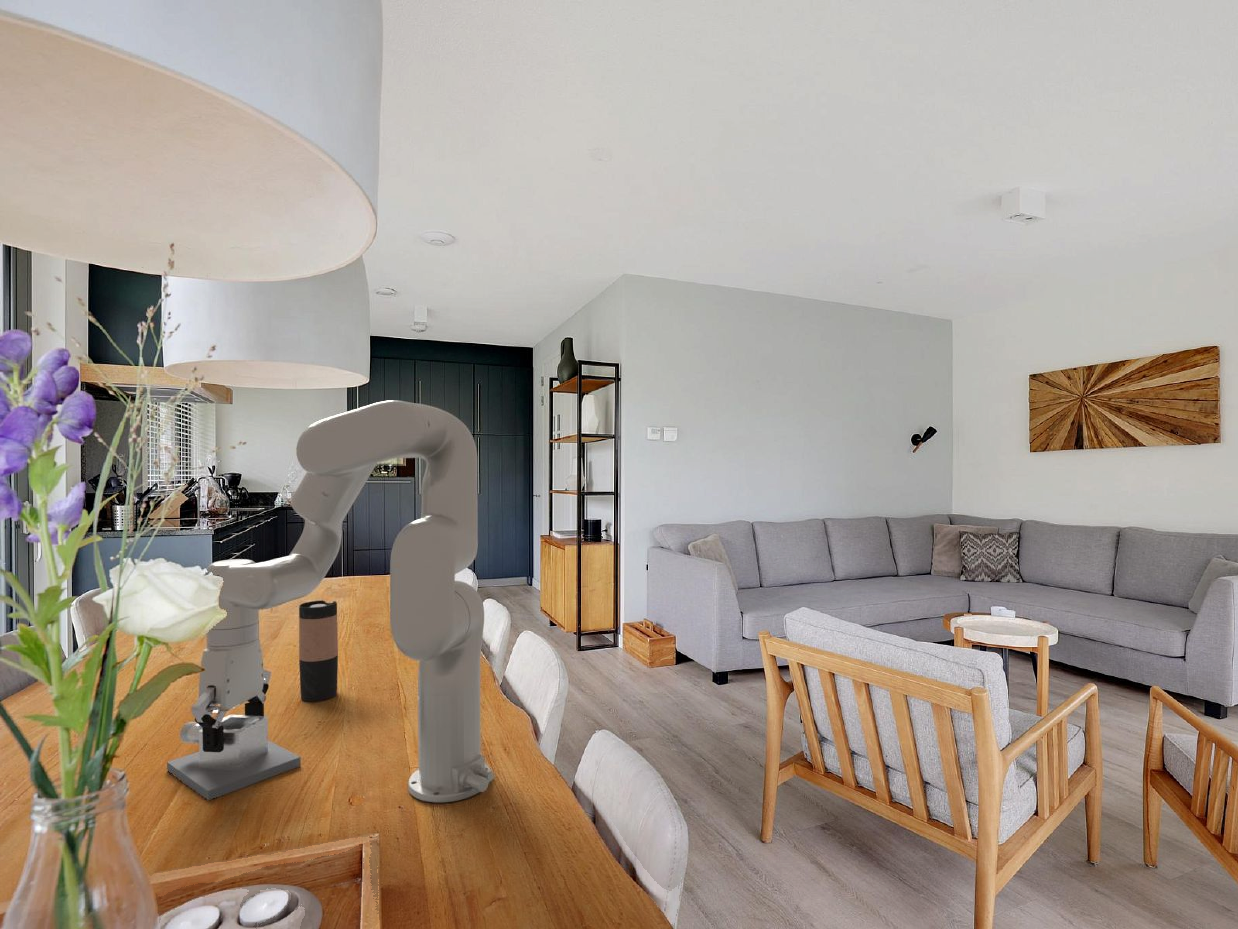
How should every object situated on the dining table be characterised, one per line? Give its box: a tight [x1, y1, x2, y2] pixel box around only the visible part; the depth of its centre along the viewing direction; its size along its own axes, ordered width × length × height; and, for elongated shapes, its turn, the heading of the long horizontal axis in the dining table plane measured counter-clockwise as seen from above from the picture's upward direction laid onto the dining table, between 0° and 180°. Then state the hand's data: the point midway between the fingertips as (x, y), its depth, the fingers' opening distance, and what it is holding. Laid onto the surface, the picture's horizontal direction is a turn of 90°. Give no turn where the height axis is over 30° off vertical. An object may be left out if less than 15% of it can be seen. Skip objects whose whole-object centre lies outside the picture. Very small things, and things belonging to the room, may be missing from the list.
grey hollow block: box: [179, 714, 269, 771], centre depth 109 cm, size 12×7×6 cm, turn 83°
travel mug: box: [298, 600, 339, 703], centre depth 143 cm, size 8×8×20 cm
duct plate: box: [166, 729, 302, 802], centre depth 109 cm, size 16×14×6 cm
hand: (234, 738), depth 109 cm, fingers open, 9 cm apart
